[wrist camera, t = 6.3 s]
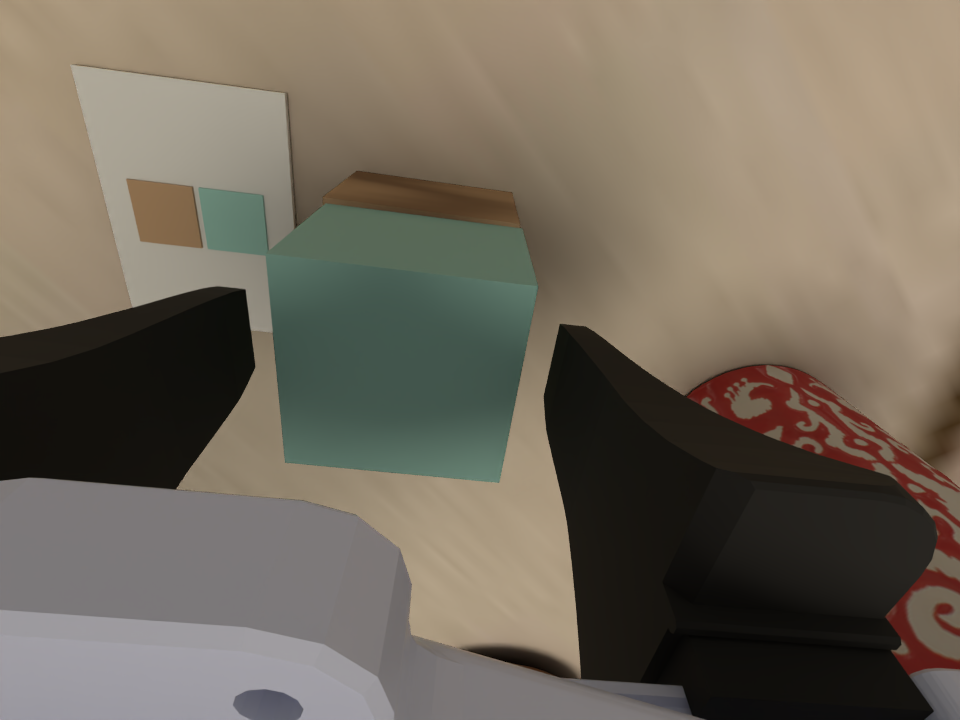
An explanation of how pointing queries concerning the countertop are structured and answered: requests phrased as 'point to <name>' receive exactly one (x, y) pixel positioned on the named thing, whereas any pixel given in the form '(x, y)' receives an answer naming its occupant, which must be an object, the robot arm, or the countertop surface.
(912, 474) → the mug
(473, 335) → the teal block
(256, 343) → the countertop surface
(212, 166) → the page
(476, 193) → the walnut block
